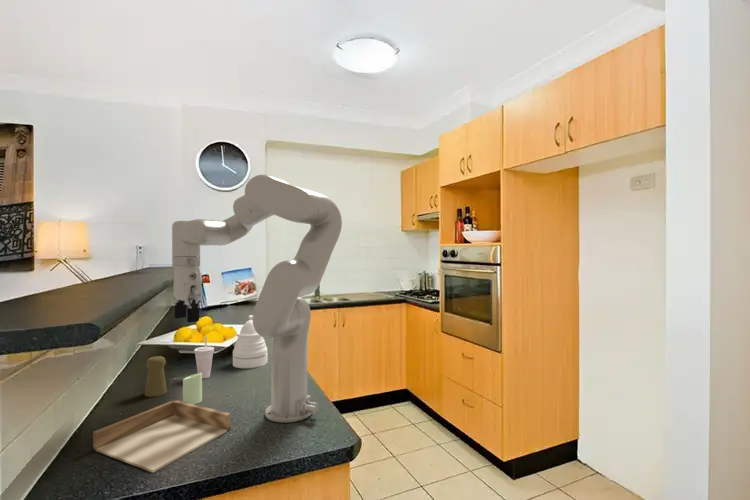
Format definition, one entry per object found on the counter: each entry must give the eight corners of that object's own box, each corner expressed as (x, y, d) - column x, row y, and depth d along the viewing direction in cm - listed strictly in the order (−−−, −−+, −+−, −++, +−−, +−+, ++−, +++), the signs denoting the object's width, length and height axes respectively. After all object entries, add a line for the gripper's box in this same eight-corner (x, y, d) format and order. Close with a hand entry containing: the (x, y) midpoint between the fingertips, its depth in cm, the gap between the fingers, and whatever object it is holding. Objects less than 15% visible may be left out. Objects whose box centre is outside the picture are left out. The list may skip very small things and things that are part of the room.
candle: (178, 404, 109) (179, 375, 109) (189, 398, 114) (189, 370, 114) (195, 405, 108) (195, 376, 108) (205, 399, 113) (205, 371, 113)
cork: (157, 397, 114) (157, 360, 114) (139, 395, 116) (139, 359, 116) (171, 390, 120) (171, 355, 120) (154, 388, 122) (154, 353, 122)
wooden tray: (230, 429, 94) (230, 413, 94) (153, 472, 76) (153, 452, 76) (174, 414, 103) (174, 399, 103) (93, 450, 85) (93, 431, 85)
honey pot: (240, 358, 156) (240, 313, 156) (271, 358, 155) (271, 314, 155) (226, 368, 143) (226, 319, 143) (261, 368, 142) (261, 319, 142)
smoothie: (214, 378, 131) (214, 337, 131) (193, 380, 129) (193, 339, 129) (214, 372, 137) (214, 333, 137) (194, 374, 135) (194, 335, 135)
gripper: (211, 262, 112) (211, 321, 112) (188, 261, 123) (188, 314, 124) (184, 263, 106) (184, 325, 106) (162, 262, 118) (162, 317, 118)
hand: (186, 319), depth 115 cm, fingers open, 9 cm apart
